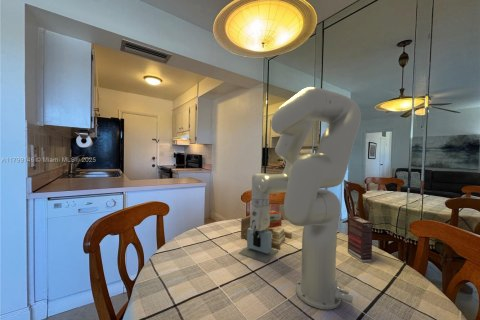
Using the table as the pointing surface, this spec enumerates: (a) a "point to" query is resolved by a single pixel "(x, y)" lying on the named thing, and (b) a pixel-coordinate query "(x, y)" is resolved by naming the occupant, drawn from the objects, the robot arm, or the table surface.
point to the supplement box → (360, 238)
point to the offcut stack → (278, 235)
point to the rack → (246, 224)
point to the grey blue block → (265, 241)
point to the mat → (258, 254)
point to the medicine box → (275, 219)
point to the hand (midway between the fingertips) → (259, 244)
